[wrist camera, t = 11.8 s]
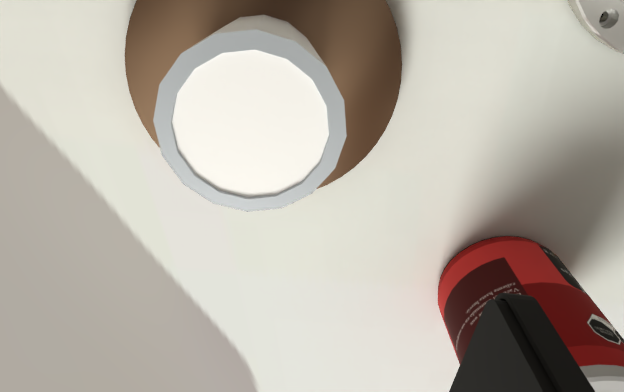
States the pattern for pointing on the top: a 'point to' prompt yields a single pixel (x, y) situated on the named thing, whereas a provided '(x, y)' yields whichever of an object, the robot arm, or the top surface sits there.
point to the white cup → (251, 116)
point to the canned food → (544, 288)
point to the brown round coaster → (307, 20)
